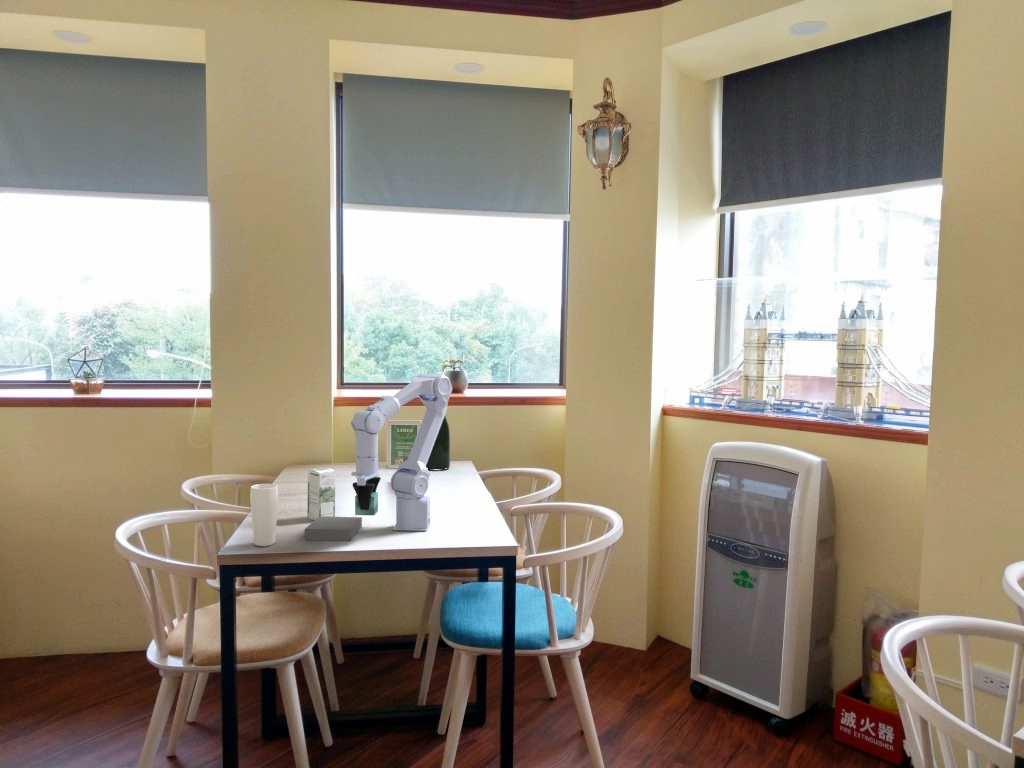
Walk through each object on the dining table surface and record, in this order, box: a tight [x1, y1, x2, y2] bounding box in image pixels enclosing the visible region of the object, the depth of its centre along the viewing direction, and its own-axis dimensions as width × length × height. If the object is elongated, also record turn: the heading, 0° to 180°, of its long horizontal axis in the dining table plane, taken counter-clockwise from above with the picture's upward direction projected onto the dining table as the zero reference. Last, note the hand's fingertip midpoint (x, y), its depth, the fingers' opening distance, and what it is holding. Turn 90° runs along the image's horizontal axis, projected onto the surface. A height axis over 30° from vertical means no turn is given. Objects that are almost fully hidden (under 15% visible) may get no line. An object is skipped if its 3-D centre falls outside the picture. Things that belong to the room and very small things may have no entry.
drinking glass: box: [249, 483, 279, 547], centre depth 183 cm, size 7×7×15 cm
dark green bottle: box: [426, 415, 451, 469], centre depth 292 cm, size 10×10×33 cm
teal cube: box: [354, 491, 379, 516], centre depth 190 cm, size 5×5×5 cm
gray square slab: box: [304, 516, 363, 542], centre depth 195 cm, size 12×13×3 cm
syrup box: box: [307, 467, 336, 521], centre depth 210 cm, size 6×6×14 cm
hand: (366, 507), depth 190 cm, fingers closed on teal cube, 5 cm apart
